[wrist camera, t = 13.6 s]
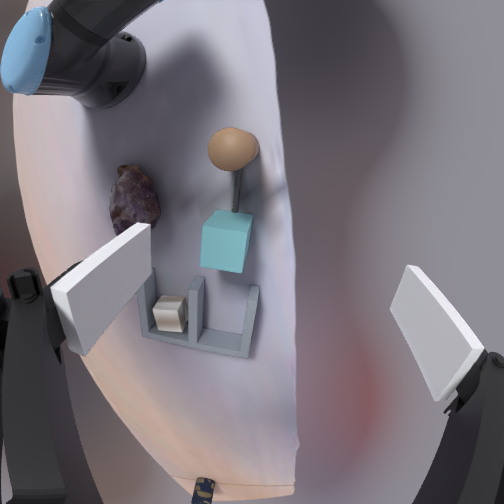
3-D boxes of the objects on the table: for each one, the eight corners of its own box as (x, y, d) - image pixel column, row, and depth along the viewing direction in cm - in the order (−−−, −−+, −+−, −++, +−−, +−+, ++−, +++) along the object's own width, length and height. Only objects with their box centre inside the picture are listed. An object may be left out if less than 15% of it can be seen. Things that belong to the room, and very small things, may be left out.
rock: (127, 221, 47) (174, 226, 47) (103, 244, 40) (155, 252, 40) (120, 161, 41) (172, 162, 40) (91, 176, 34) (147, 178, 33)
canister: (193, 477, 97) (186, 505, 81) (204, 476, 94) (197, 505, 78) (207, 483, 99) (202, 510, 83) (219, 481, 96) (214, 510, 80)
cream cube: (161, 295, 52) (152, 309, 47) (185, 296, 51) (177, 310, 47) (166, 315, 54) (158, 330, 49) (189, 317, 53) (182, 332, 49)
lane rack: (147, 266, 49) (135, 278, 45) (259, 286, 49) (257, 301, 44) (151, 321, 55) (142, 336, 50) (250, 341, 54) (247, 358, 49)
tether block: (225, 129, 39) (206, 125, 28) (264, 134, 38) (259, 130, 27) (213, 243, 46) (193, 276, 35) (248, 248, 46) (239, 284, 35)
